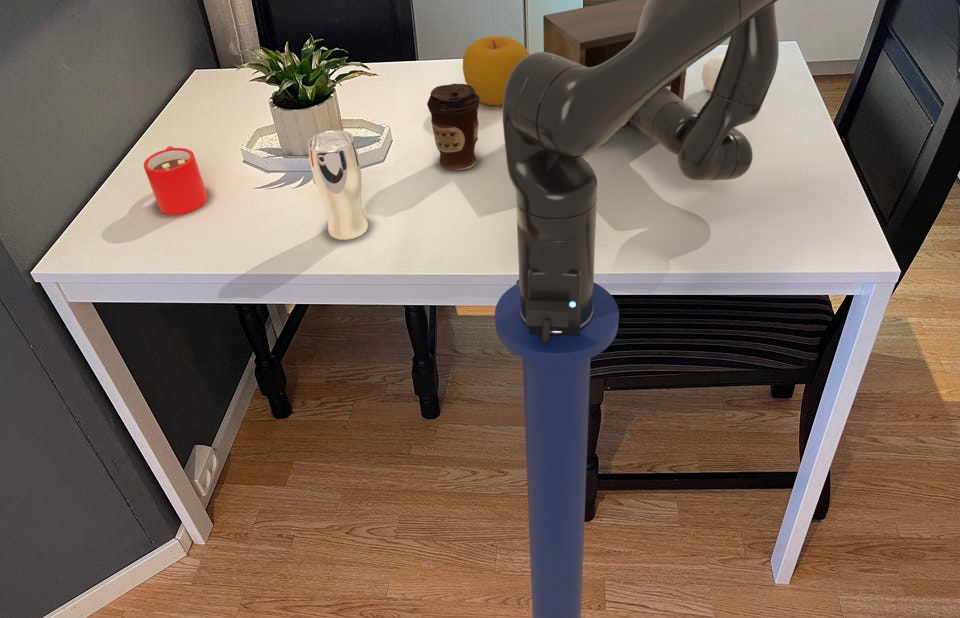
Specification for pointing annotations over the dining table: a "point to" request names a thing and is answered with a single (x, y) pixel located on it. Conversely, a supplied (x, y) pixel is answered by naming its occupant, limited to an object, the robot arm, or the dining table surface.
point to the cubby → (597, 34)
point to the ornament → (712, 71)
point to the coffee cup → (455, 124)
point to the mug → (176, 180)
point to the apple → (491, 66)
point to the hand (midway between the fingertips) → (607, 74)
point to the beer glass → (338, 182)
